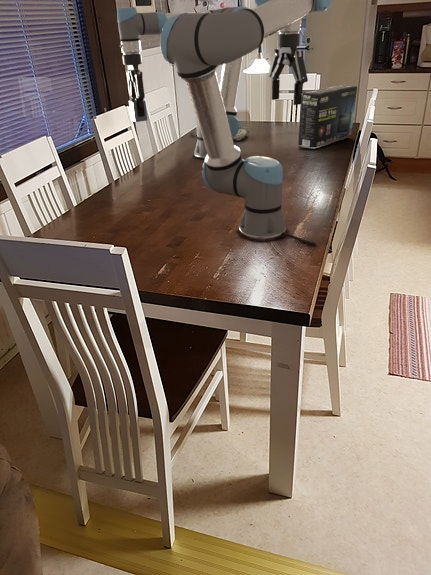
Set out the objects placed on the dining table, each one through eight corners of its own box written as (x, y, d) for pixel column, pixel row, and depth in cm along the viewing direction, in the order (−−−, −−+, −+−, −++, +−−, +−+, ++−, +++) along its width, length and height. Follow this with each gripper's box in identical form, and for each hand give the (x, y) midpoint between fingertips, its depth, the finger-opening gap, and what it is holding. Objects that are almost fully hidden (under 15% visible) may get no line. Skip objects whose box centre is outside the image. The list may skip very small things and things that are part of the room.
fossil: (240, 135, 249) (222, 118, 252) (230, 152, 256) (212, 134, 259) (256, 134, 263) (238, 117, 266) (246, 150, 269) (228, 133, 272)
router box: (314, 151, 231) (318, 94, 217) (296, 148, 237) (299, 92, 224) (352, 138, 251) (358, 85, 238) (335, 135, 258) (340, 83, 245)
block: (143, 118, 196) (141, 99, 192) (147, 120, 192) (145, 100, 188) (131, 120, 194) (128, 100, 190) (135, 122, 190) (132, 102, 186)
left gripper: (115, 52, 186) (123, 113, 198) (129, 55, 172) (137, 120, 184) (133, 51, 189) (140, 110, 201) (148, 53, 174) (155, 117, 187)
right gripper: (259, 33, 159) (258, 98, 170) (302, 34, 140) (298, 108, 151) (277, 31, 162) (275, 96, 173) (321, 33, 142) (316, 105, 153)
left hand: (139, 115), depth 192 cm, fingers closed on block, 5 cm apart
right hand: (286, 102), depth 162 cm, fingers open, 13 cm apart
